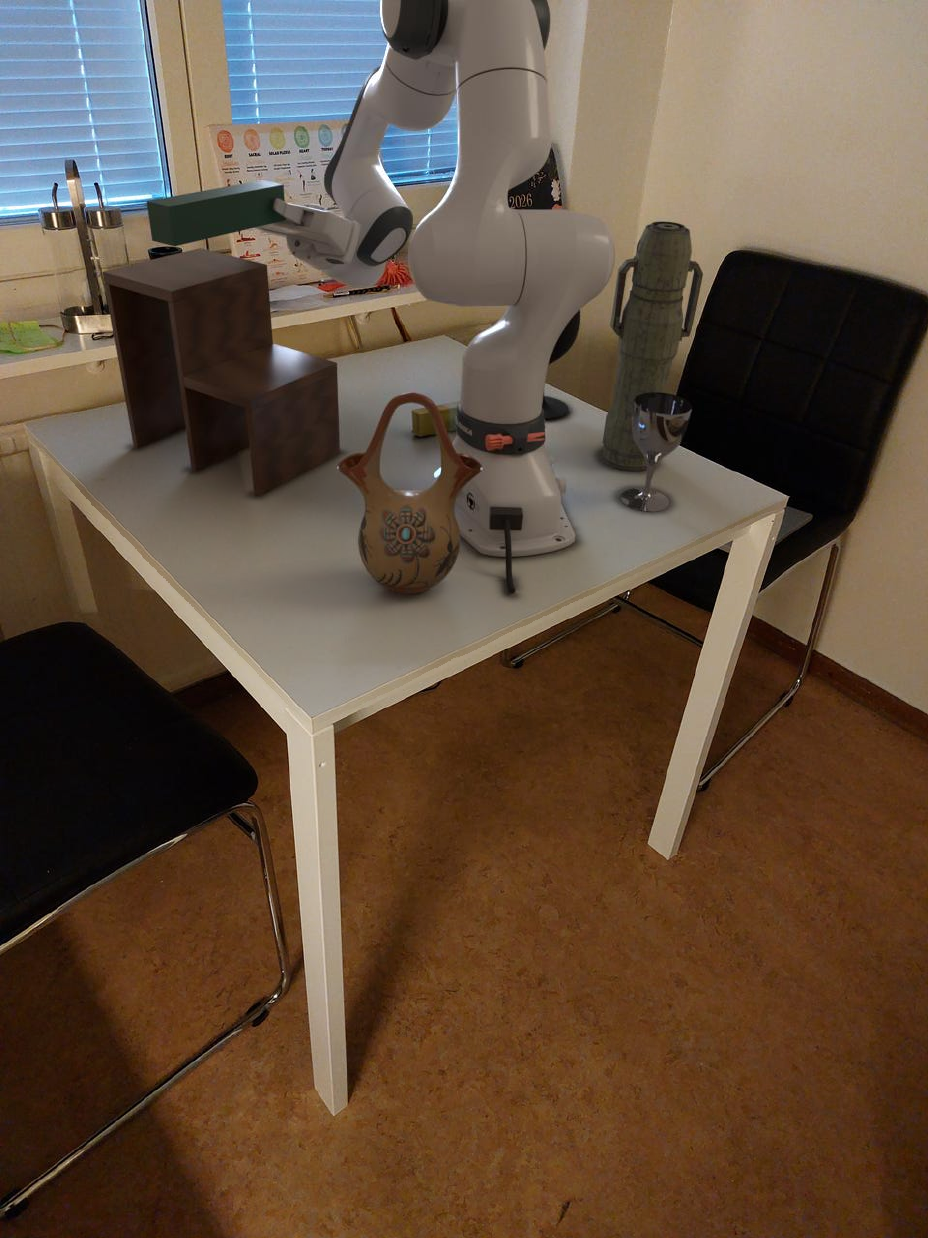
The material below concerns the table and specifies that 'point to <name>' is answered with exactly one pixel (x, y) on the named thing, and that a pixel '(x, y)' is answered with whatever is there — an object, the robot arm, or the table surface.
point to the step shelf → (219, 366)
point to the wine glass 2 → (656, 441)
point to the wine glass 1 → (564, 343)
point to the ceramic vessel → (409, 510)
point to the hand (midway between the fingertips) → (258, 199)
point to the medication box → (424, 423)
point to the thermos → (648, 330)
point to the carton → (213, 212)
